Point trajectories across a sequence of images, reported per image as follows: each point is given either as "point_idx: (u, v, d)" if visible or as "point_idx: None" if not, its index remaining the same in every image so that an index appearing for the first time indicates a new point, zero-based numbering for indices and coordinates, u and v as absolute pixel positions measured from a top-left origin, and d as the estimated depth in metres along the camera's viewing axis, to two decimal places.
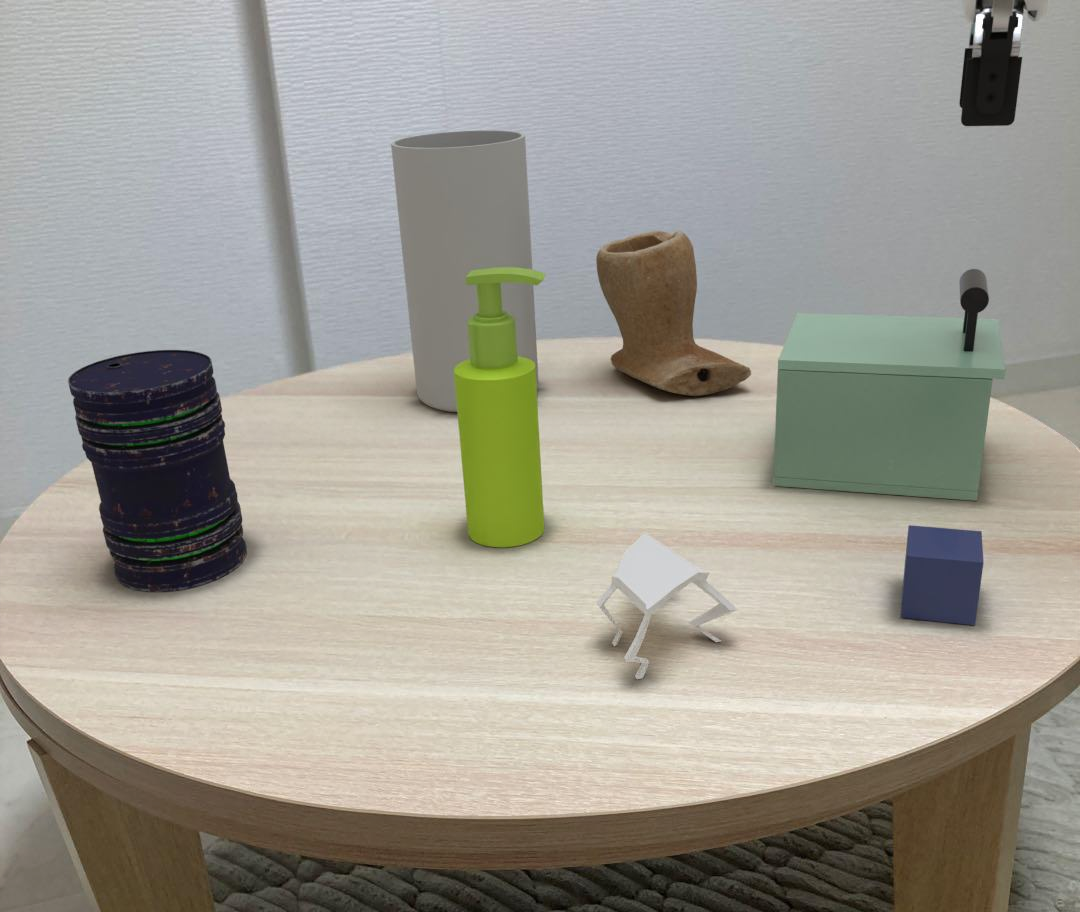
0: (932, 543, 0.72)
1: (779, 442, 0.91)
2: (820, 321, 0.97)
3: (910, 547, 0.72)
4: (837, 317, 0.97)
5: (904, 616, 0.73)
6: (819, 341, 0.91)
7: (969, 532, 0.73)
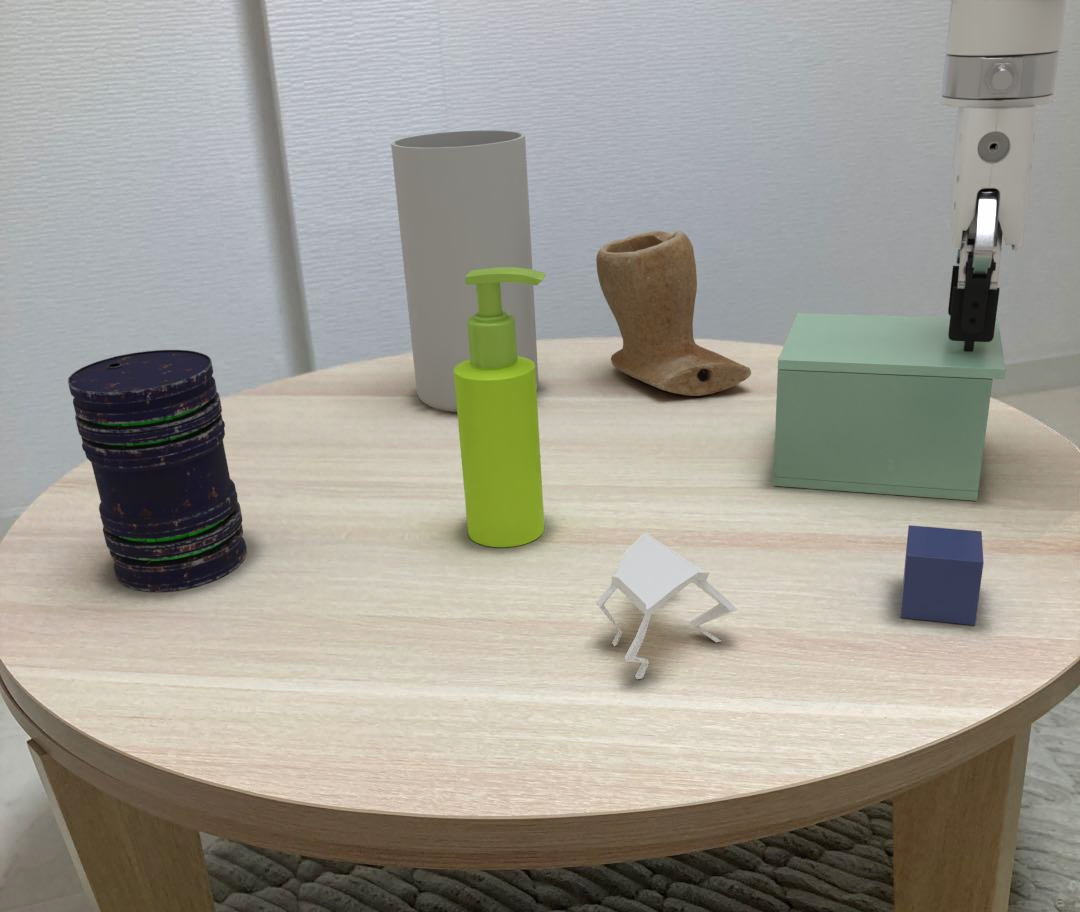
0: (932, 543, 0.72)
1: (779, 442, 0.91)
2: (820, 321, 0.97)
3: (910, 547, 0.72)
4: (837, 317, 0.97)
5: (904, 616, 0.73)
6: (819, 341, 0.91)
7: (969, 532, 0.73)
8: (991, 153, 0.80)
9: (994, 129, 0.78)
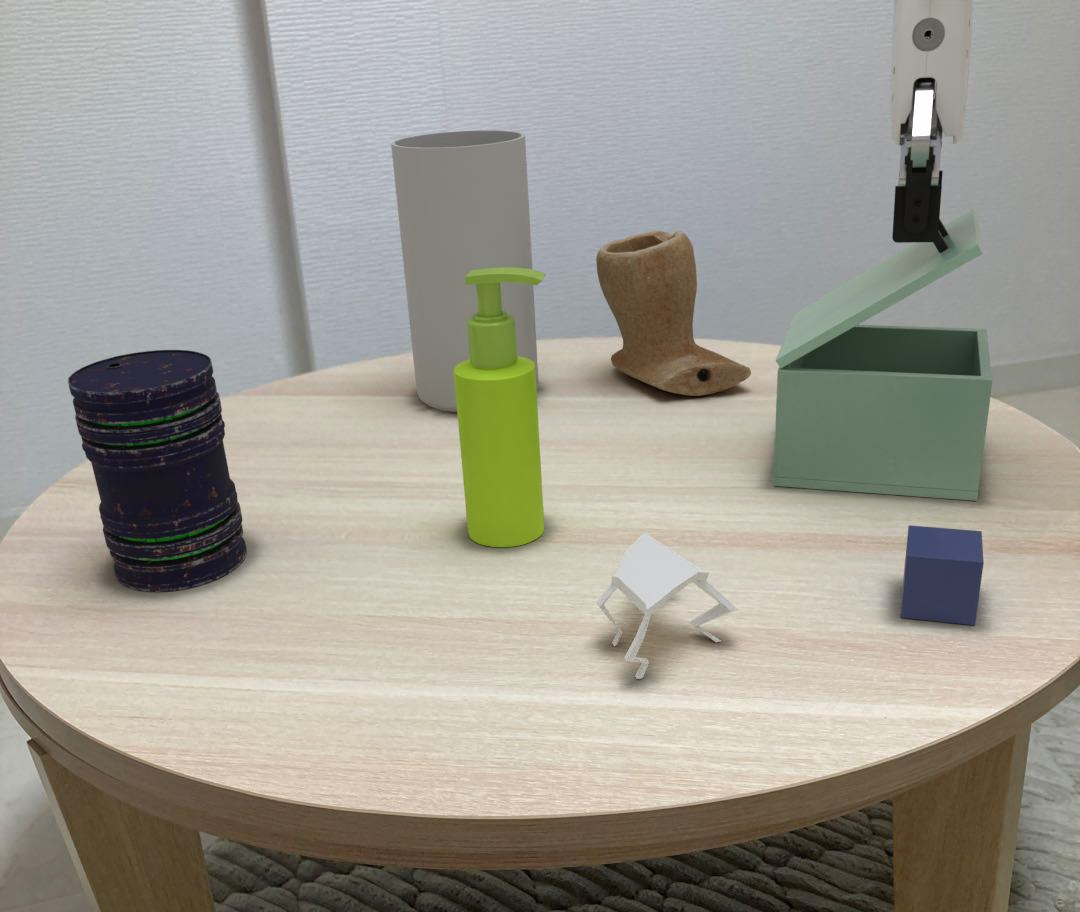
0: (932, 543, 0.72)
1: (779, 442, 0.91)
2: (813, 307, 0.96)
3: (910, 547, 0.72)
4: (829, 295, 0.97)
5: (904, 616, 0.73)
6: (812, 324, 0.91)
7: (969, 532, 0.73)
8: (927, 42, 0.78)
9: (928, 15, 0.77)
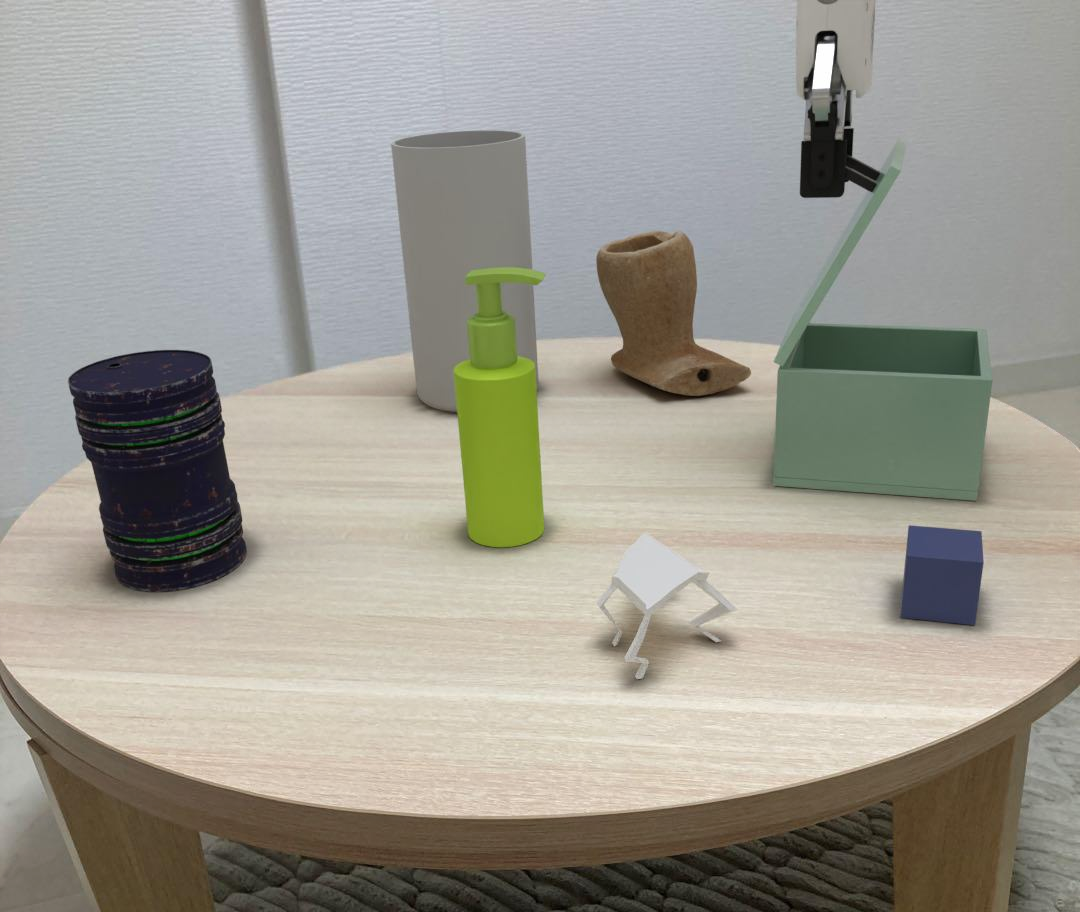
0: (932, 543, 0.72)
1: (779, 442, 0.91)
2: (802, 300, 0.96)
3: (910, 547, 0.72)
4: (812, 283, 0.97)
5: (904, 616, 0.73)
6: (798, 314, 0.91)
7: (969, 532, 0.73)
8: None
9: None
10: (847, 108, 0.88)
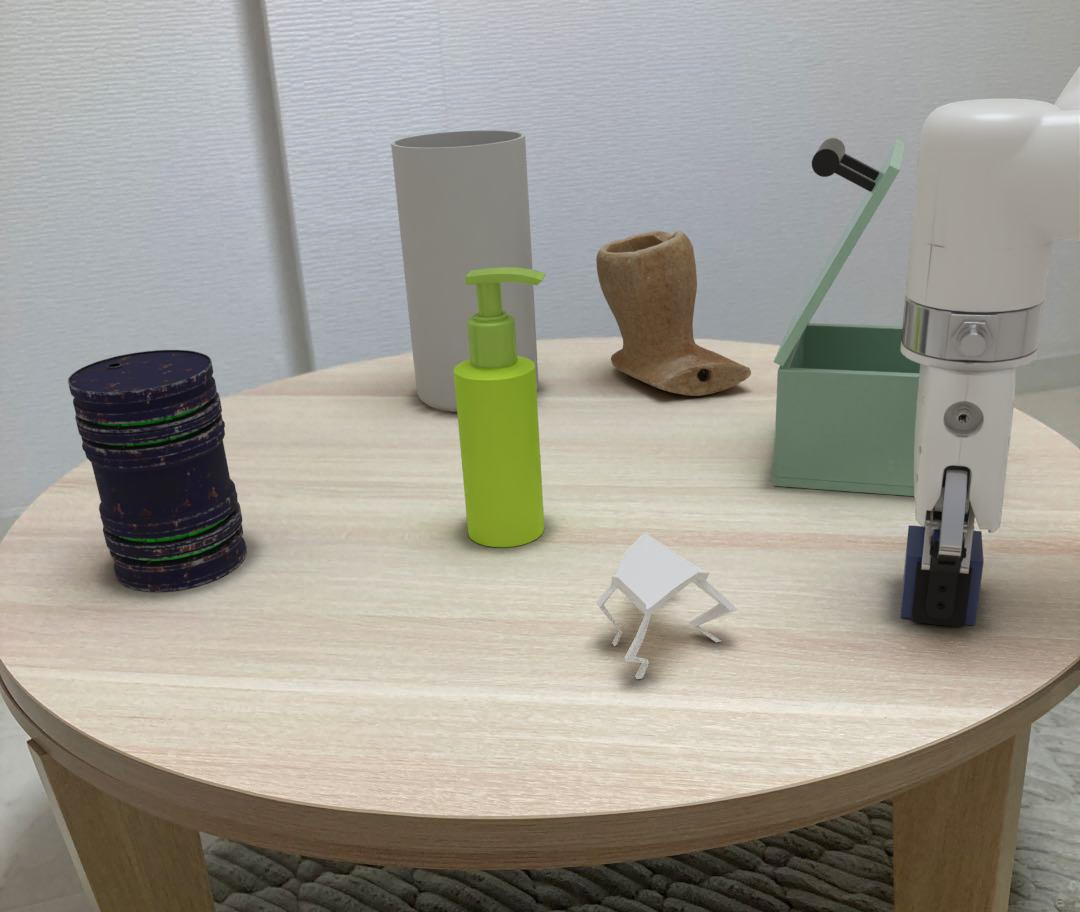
0: None
1: (779, 442, 0.91)
2: (802, 300, 0.96)
3: (910, 547, 0.72)
4: (812, 283, 0.97)
5: (904, 616, 0.73)
6: (798, 314, 0.91)
7: None
8: (961, 422, 0.65)
9: (964, 398, 0.63)
10: None
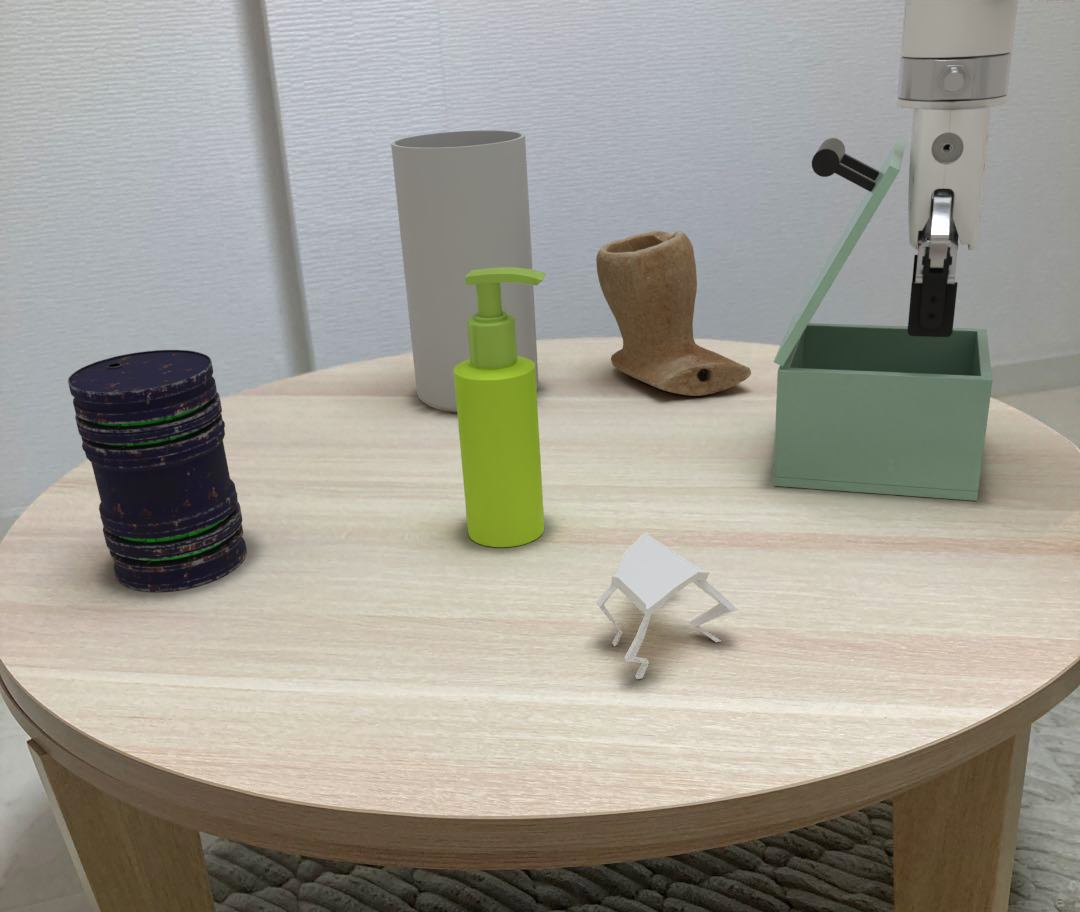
0: None
1: (779, 442, 0.91)
2: (802, 300, 0.96)
3: None
4: (812, 283, 0.97)
5: None
6: (798, 314, 0.91)
7: None
8: (945, 154, 0.81)
9: (947, 130, 0.79)
10: None
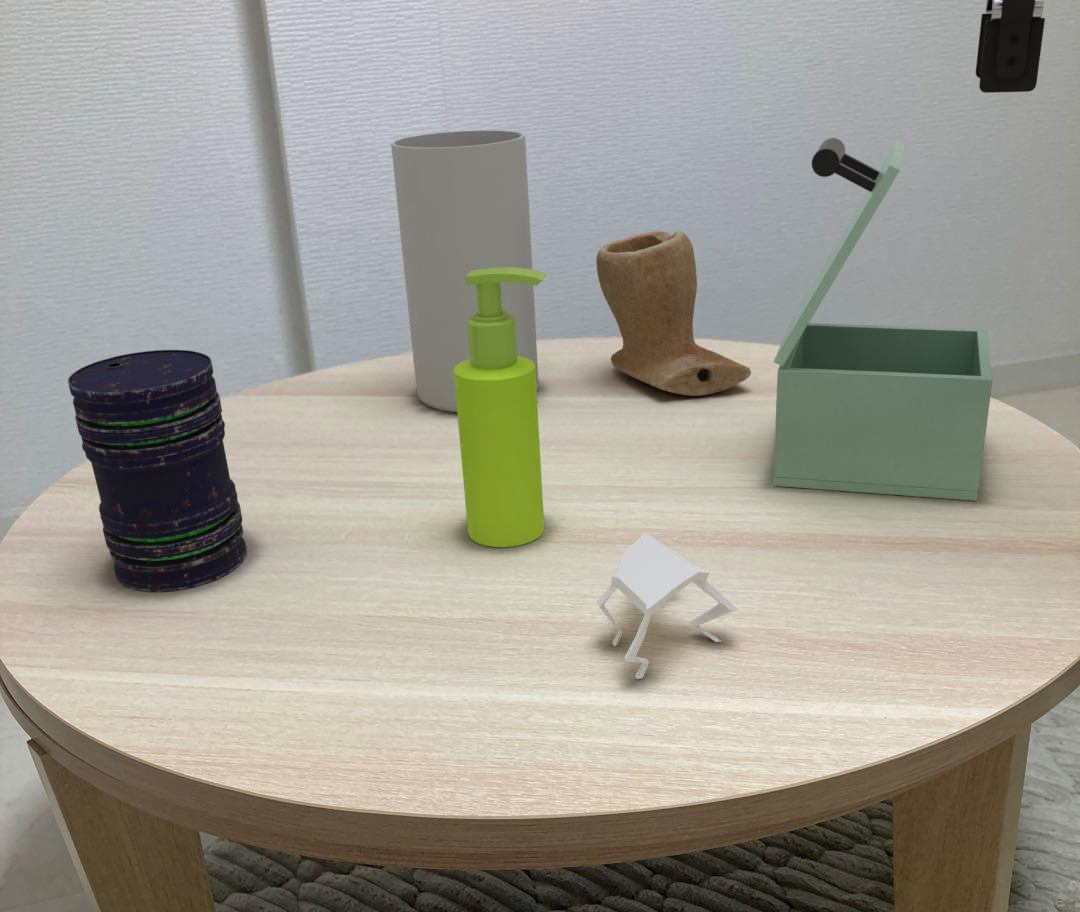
0: None
1: (779, 442, 0.91)
2: (802, 300, 0.96)
3: None
4: (812, 283, 0.97)
5: None
6: (798, 314, 0.91)
7: None
8: None
9: None
10: None
